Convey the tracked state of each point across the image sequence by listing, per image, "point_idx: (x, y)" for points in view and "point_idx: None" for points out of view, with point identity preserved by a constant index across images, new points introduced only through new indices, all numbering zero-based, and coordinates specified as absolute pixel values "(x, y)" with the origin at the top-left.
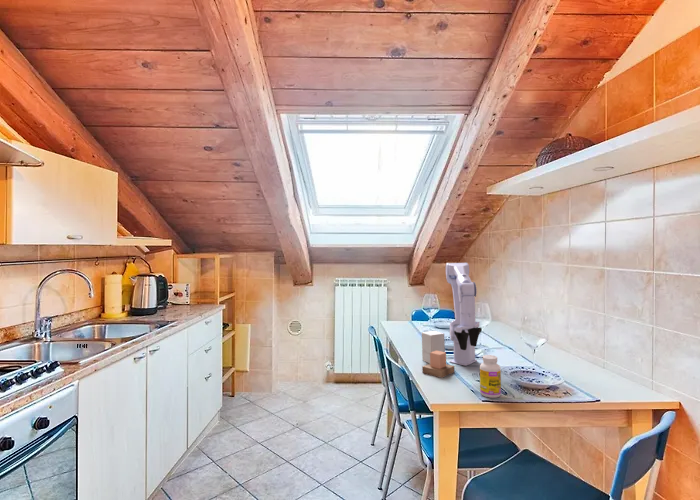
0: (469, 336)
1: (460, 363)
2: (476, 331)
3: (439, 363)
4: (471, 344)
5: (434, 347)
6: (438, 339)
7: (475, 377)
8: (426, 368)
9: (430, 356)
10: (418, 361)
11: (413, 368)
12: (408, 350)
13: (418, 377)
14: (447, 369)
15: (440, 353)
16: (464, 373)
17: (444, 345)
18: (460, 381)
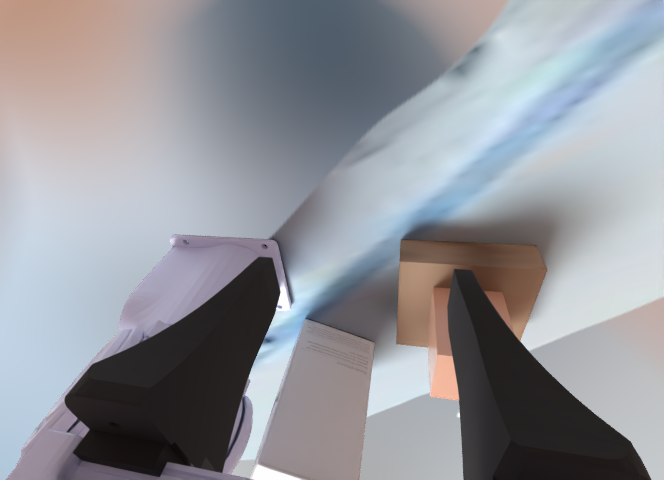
0: (248, 371)
1: (279, 268)
2: (186, 387)
3: (508, 317)
4: (275, 295)
5: (346, 409)
6: (311, 444)
7: (410, 108)
8: (518, 336)
9: None
10: (373, 381)
11: None
12: None
13: (594, 319)
14: (477, 263)
15: None
16: (385, 193)
17: (282, 391)
18: (550, 139)
